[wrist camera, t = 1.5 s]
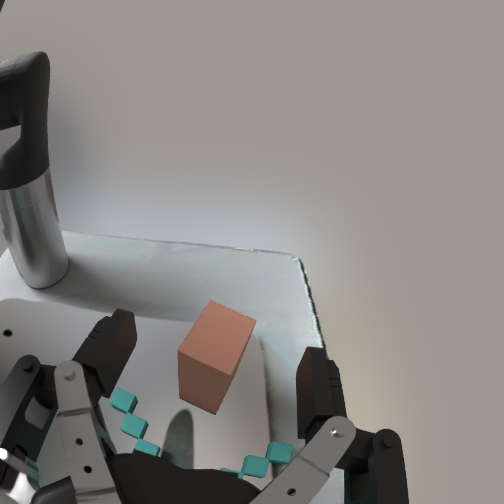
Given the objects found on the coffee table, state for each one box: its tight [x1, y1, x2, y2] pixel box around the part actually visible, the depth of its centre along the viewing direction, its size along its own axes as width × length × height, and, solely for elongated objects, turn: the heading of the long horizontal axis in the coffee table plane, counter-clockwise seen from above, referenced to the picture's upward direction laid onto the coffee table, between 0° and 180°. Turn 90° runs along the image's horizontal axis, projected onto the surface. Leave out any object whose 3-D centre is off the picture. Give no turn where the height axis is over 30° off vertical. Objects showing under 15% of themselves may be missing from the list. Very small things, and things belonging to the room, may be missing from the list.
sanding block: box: [178, 300, 256, 415], centre depth 25 cm, size 4×6×12 cm
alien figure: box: [110, 387, 293, 479], centre depth 17 cm, size 20×2×20 cm
